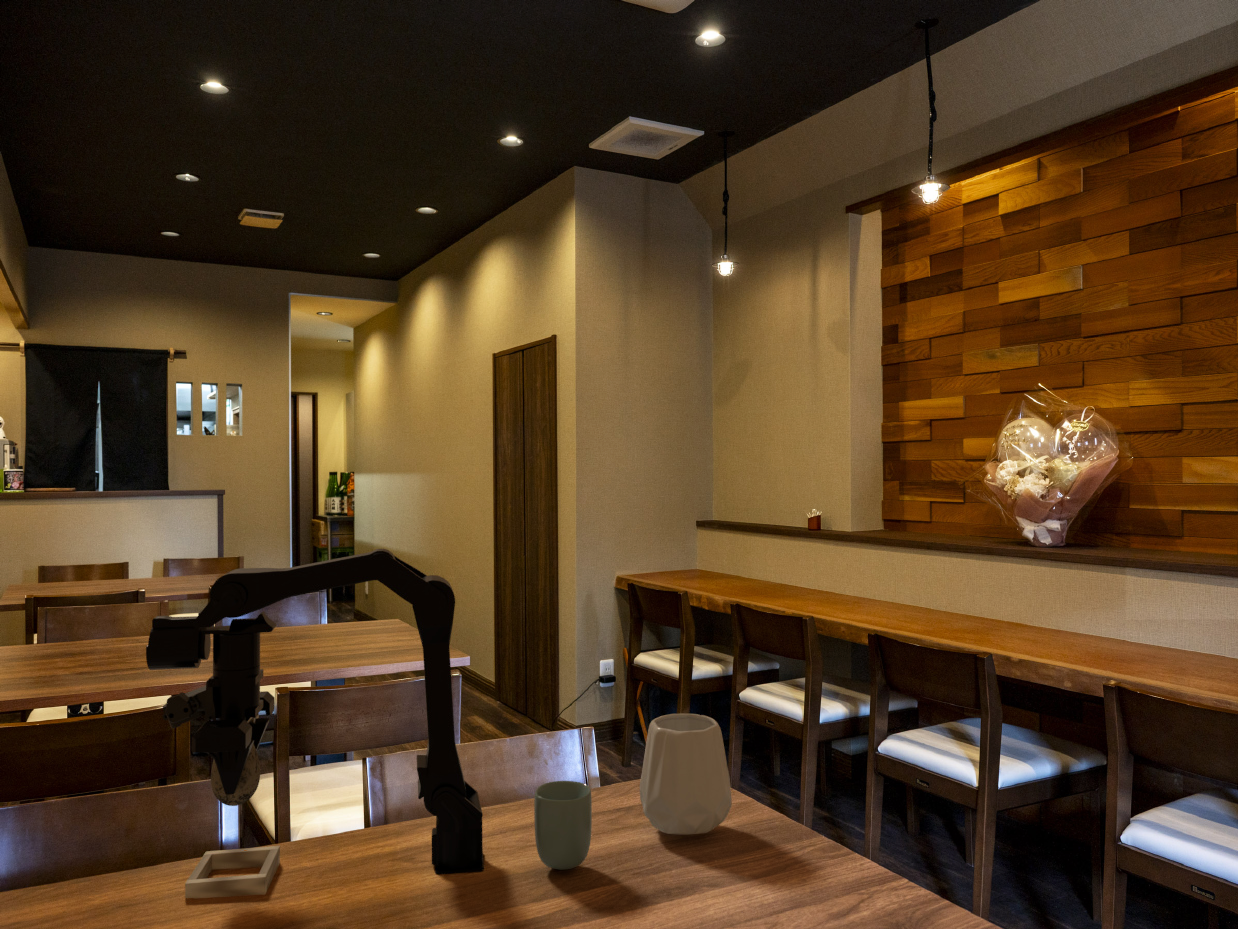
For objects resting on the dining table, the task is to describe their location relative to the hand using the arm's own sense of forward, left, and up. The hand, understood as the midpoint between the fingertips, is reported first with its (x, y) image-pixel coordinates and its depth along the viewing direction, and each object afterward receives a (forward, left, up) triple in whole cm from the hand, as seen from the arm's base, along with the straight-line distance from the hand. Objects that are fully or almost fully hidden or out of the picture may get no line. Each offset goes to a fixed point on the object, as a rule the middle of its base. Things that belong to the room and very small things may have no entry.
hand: (235, 785), depth 118 cm
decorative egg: (0, 0, -3) cm, 3 cm away
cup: (-43, +2, -13) cm, 45 cm away
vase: (-63, -9, -13) cm, 65 cm away
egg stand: (0, 0, -13) cm, 13 cm away
